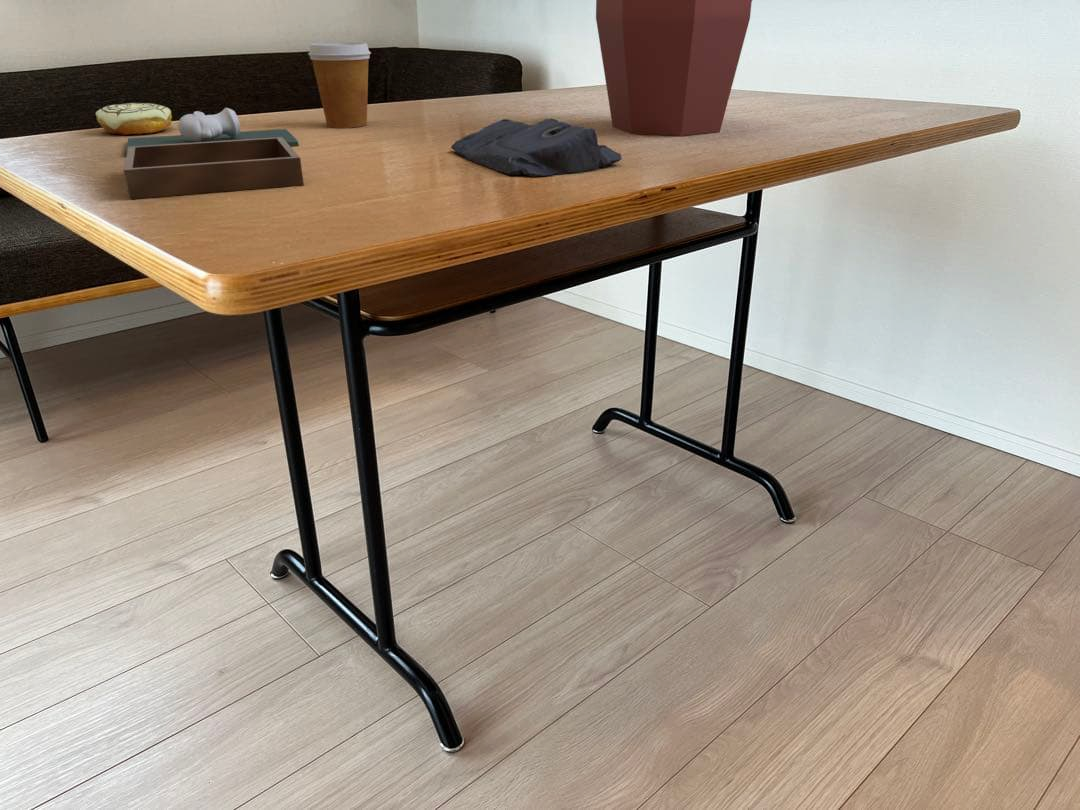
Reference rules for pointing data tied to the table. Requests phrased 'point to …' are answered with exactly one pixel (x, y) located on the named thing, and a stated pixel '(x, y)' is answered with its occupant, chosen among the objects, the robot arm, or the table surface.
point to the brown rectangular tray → (211, 167)
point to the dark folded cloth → (536, 148)
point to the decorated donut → (134, 118)
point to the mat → (223, 137)
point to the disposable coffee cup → (342, 81)
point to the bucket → (670, 62)
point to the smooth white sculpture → (209, 125)
